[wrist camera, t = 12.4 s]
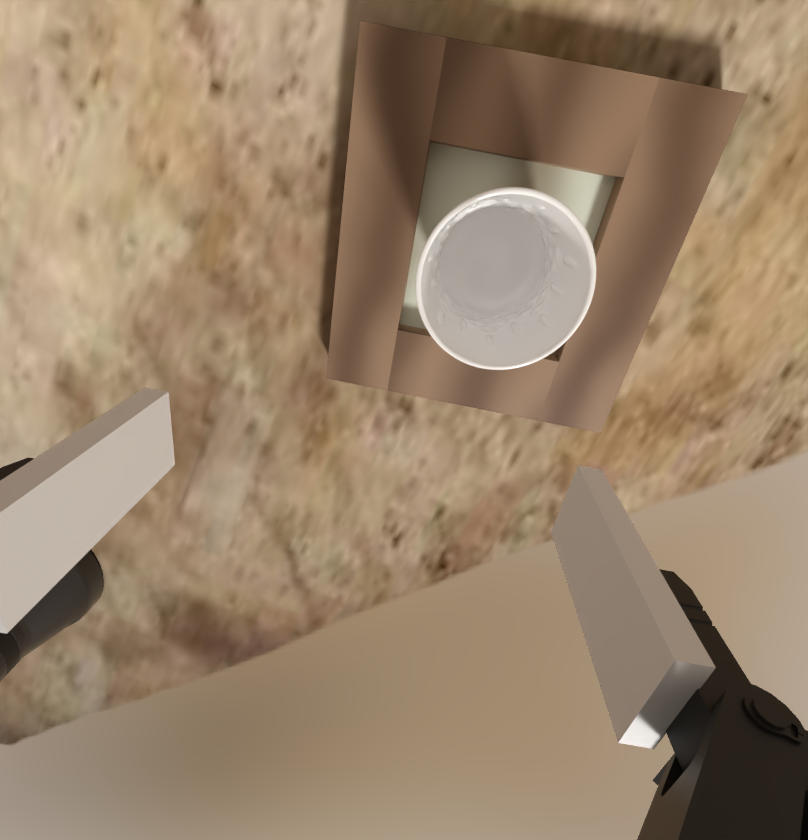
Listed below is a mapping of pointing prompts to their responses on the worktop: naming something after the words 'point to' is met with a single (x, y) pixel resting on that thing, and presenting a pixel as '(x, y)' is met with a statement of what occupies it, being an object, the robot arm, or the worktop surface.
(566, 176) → the wooden picture frame
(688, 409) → the worktop surface
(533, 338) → the white cup
